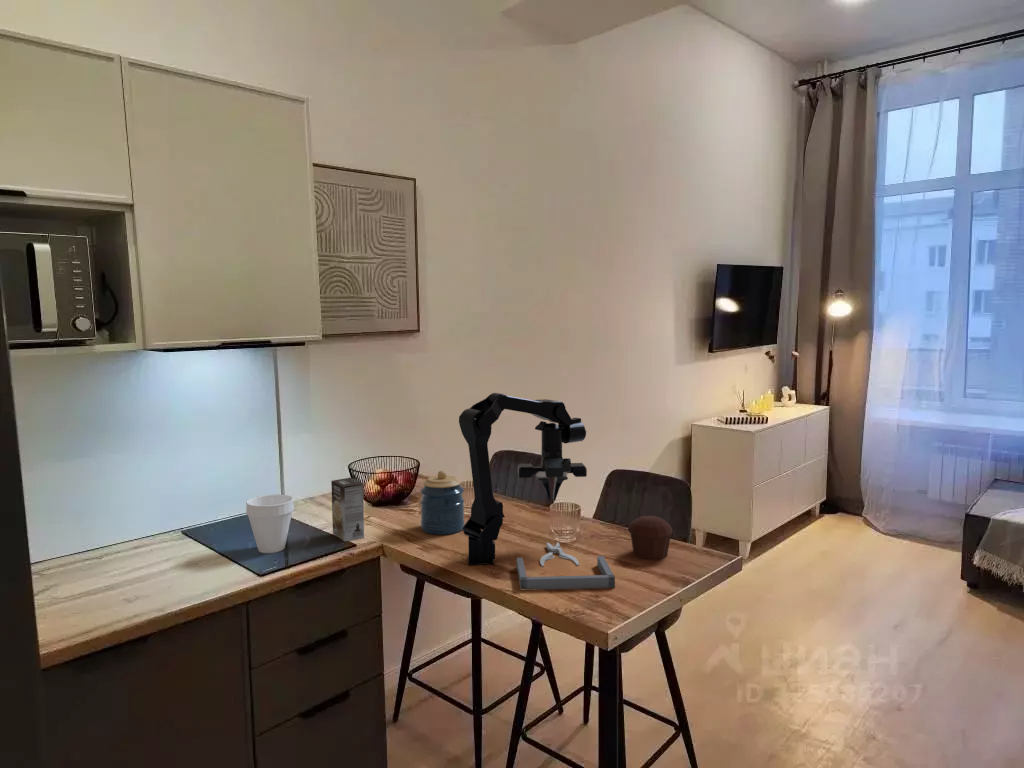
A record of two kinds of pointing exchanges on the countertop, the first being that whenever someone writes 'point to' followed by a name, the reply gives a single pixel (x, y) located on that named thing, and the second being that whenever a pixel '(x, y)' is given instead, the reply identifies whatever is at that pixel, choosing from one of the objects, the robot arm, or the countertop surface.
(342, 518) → the coffee box
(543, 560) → the pliers
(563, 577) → the tool holder
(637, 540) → the muffin
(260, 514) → the white flower pot
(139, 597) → the countertop surface
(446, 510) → the canister
